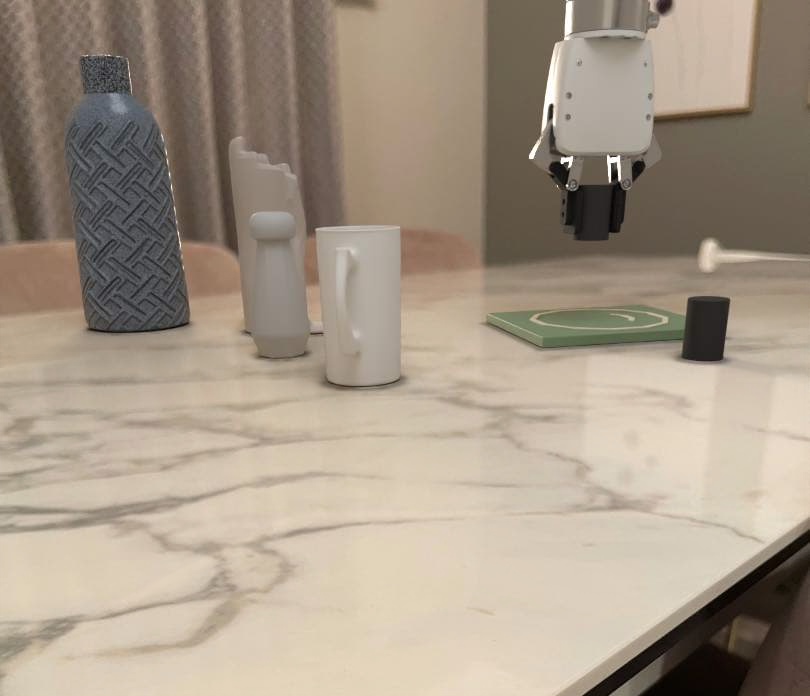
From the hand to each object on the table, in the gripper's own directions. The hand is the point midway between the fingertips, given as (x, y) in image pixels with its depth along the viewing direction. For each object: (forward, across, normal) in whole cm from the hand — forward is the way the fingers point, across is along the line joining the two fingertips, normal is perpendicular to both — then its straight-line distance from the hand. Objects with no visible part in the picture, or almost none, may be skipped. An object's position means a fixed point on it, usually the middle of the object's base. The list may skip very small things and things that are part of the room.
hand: (591, 230), depth 86 cm
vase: (+11, +47, -23) cm, 54 cm away
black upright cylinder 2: (+10, -5, +16) cm, 19 cm away
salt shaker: (+11, +32, +2) cm, 34 cm away
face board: (+10, -3, -2) cm, 11 cm away
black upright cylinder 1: (+1, 0, 0) cm, 1 cm away
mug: (+11, +27, +17) cm, 34 cm away
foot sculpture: (+11, +28, -13) cm, 33 cm away
